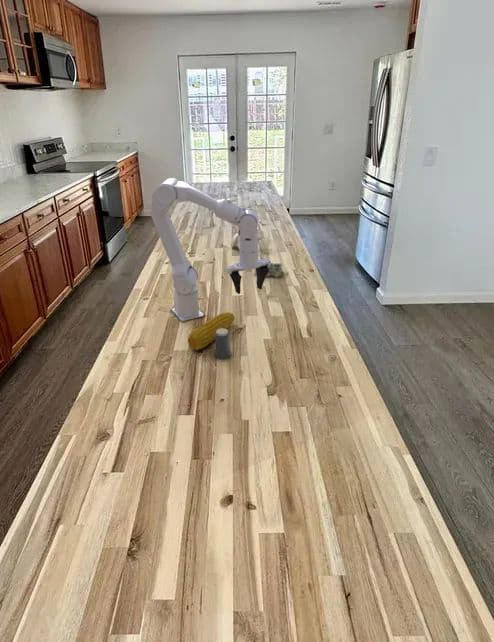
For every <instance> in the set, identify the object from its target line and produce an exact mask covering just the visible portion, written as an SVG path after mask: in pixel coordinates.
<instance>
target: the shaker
mask: <svg viewBox="0 0 494 642" xmlns="http://www.w3.org/2000/svg"><path fill="white" fill-rule="evenodd" d="M230 335H231V334H230V332H229V330H228V328H227V329H224V328H221V329H218V330H217V331H216V333H215V339H214V342H215V357H216V358H217V359H220V360H225V359H228V358H230V357H231V337H230Z"/></svg>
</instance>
